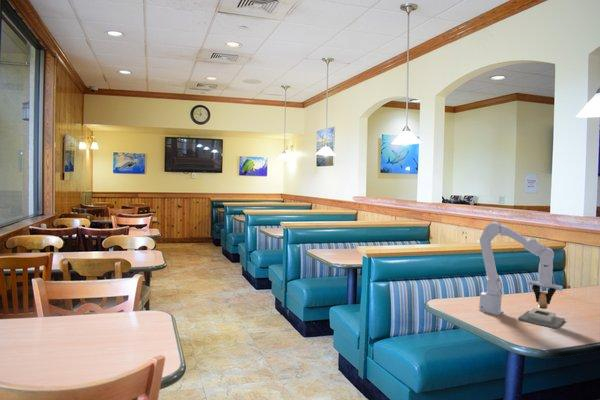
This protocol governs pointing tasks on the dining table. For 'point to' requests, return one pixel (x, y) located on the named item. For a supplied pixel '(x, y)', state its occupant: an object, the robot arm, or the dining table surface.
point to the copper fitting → (542, 300)
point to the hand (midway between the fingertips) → (543, 302)
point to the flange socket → (542, 318)
